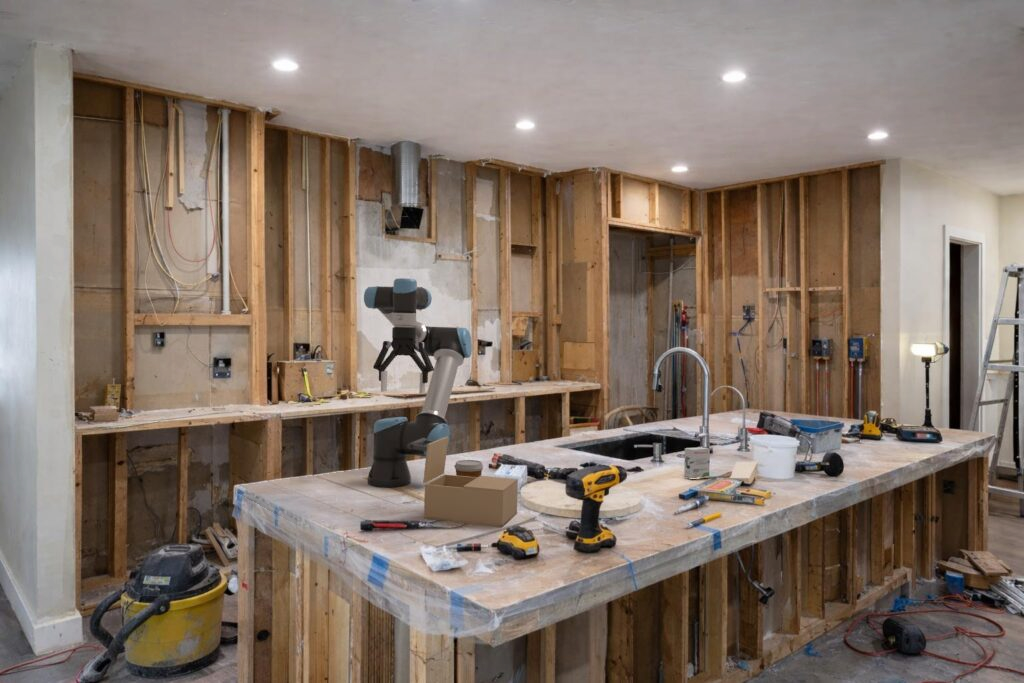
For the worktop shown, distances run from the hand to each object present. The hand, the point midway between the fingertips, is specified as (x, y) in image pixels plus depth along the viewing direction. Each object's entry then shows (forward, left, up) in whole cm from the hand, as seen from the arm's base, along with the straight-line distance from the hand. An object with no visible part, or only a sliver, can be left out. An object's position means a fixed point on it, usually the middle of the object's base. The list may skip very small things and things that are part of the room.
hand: (402, 392), depth 221 cm
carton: (+10, +28, -35) cm, 46 cm away
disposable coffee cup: (-9, +20, -35) cm, 41 cm away
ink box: (-72, +91, -35) cm, 121 cm away
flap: (+10, +17, -19) cm, 27 cm away
